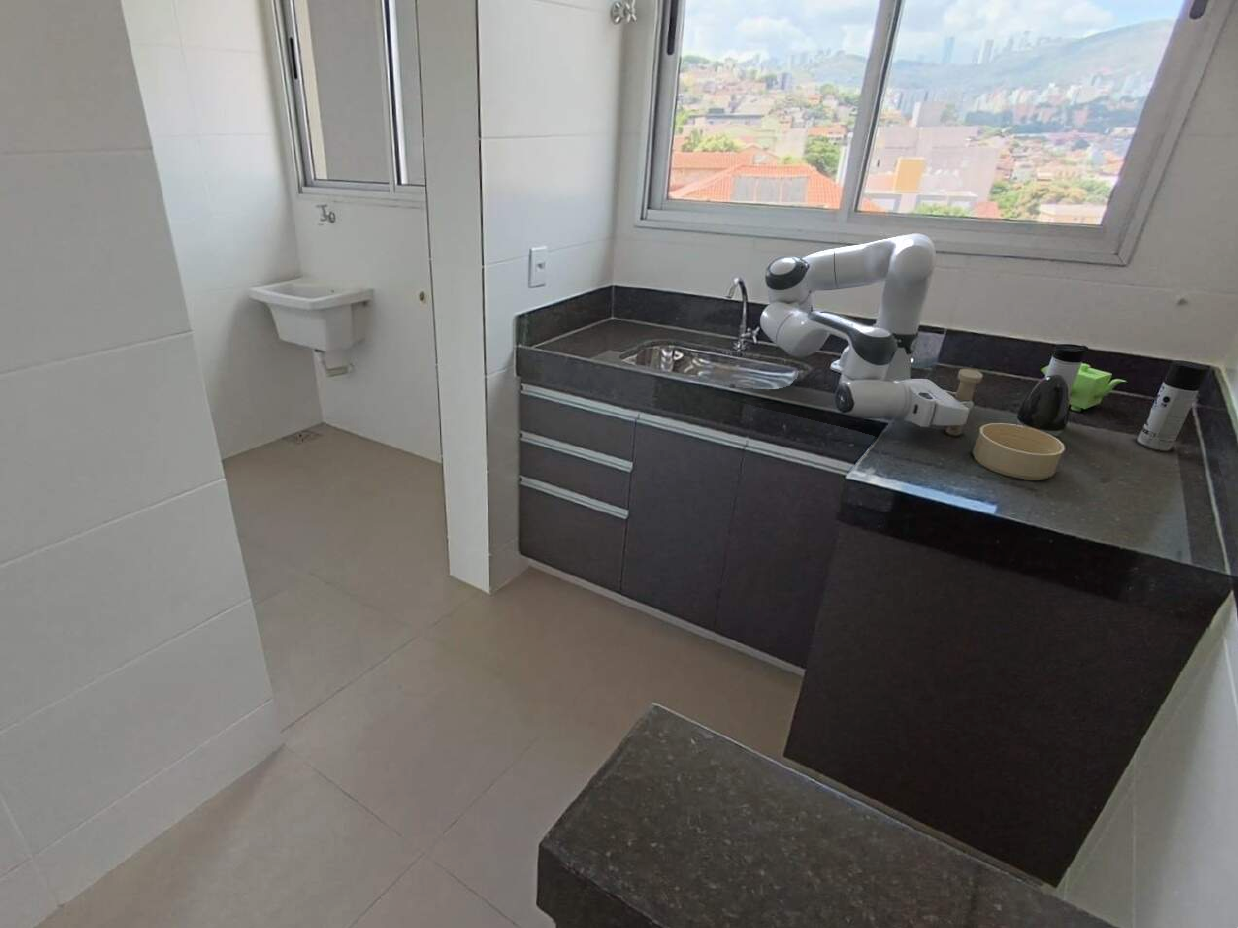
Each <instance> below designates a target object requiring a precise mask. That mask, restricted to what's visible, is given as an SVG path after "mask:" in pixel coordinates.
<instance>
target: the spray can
mask: <svg viewBox="0 0 1238 928" xmlns="http://www.w3.org/2000/svg"><path fill="white" fill-rule="evenodd" d="M1208 372H1209V367H1208V366H1206V365H1205V364H1202V363H1198V362H1194V361H1193V362H1192V361H1189V360H1184V359H1183V360H1182V359H1181V360H1177V359H1176V360H1174V361H1172V363H1171V365H1170V367H1169V369H1168V370H1167V373H1166V375H1165V378H1164V380H1163V381H1162V384H1161V386H1160V388H1159V391H1158V393H1157V395H1156V397H1155V399H1154V401H1153V404H1152V406H1151V408H1150V411H1149V413H1148V415H1147V417H1146V420H1145V421H1144V424H1143V426H1142V428H1141V430H1140V433H1139V435H1138V438H1137V443H1138V444H1139V445H1141V446H1143V447H1144V448H1148V449H1150V450H1154V451H1159V452H1161V451H1162V452H1164V451H1165V452H1166V451H1170V450H1171V449H1172V448H1173V446H1174V445H1175V444H1174V443H1175V442H1176V439H1177V438H1178V435H1179V433H1180V431H1181V429H1182V427H1183V425H1184V422H1185V421H1186V419H1187V416H1188V414H1189V412H1190V410H1191V408H1192V406H1193V404H1194V402H1195V399H1196V397H1197V396H1198V393H1199V391H1200V390H1201V388H1202V385H1203V383H1204V380H1205V378H1206V377H1207V374H1208Z"/></svg>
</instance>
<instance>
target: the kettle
mask: <svg viewBox="0 0 1238 928" xmlns="http://www.w3.org/2000/svg"><path fill="white" fill-rule="evenodd" d="M1048 366H1049V365H1046V366H1044V367H1042V368H1041V369H1040V371H1041V372H1042V373H1043V374H1044V376H1045V375H1046V372H1047V369H1048ZM1112 375H1113V374H1112V373H1110V372H1107V371H1103V370H1100V369H1096V368H1093V367H1091V365H1089V364H1087V363H1083V362H1082V363H1081V366H1080V369H1079V371H1078V374H1077V377H1076V379H1075V382H1074V385H1073V387H1072V390H1071V393H1070V409H1071V410H1072V411H1074V412H1081V411H1082V409H1083V410H1086V409H1089V408H1091V407H1094V406H1097V405H1099V404H1101V403H1102V401H1103V398H1104V397H1106V396H1108V394H1109V393H1110V392H1111V391H1112V390H1113V389H1114V388H1115V387H1116V386H1117V385H1118V384H1120V383H1121V384H1122V383H1127V380H1124V379H1120V378H1116V379H1112V380H1111V378H1112V377H1113V376H1112Z"/></svg>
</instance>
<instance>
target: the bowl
mask: <svg viewBox="0 0 1238 928" xmlns="http://www.w3.org/2000/svg"><path fill="white" fill-rule="evenodd" d="M1065 451H1066V448H1065V444H1064V443H1063V442H1062V441H1061V440H1060V439H1058V438H1056V437H1053V436H1051V435H1049V434H1047V433H1044V432H1042V431H1039V430H1036V429H1033V428H1029V427H1026V426H1021V425H1018V424H1015V423H1008V422H1007V423H1006V422H990V423H986V424H983V425H981V426H980V427H979V429H978V431H977V435H976V438H975V441H974V444H973V447H972V455H973V458H974V459H975V460H976V462H977V463H978V464H980V465H981V466H983V467H985V468H987V469H988V470H990V471H993V472H995V473H997V474H1000V475H1004V476H1007V477H1010V478H1013V479H1014V478H1015V479H1021V480H1027V481H1040V480H1041V481H1042V480H1047V479H1049V478H1052V476H1053V475H1055V474H1056V472H1057V471H1058V469H1059V466H1060V463H1061V461H1062V459H1063V456H1064V453H1065Z"/></svg>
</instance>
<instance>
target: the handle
mask: <svg viewBox="0 0 1238 928" xmlns="http://www.w3.org/2000/svg"><path fill="white" fill-rule="evenodd" d="M983 376H984V375H983V373H981V372H980V371H978V370H976V369H970V368H961V369H959V370H958V373H957V379H958V380H959V385H958V388H957V390H956V392H957V393H956V396H955V399H956V400H957V401H960V402H963V401H964V400H970V401H972V402H973V396H974V393H975V388H976V385H978V384H980V383H981V382H982V380H983ZM965 425H966V423H965V424H963V425H954V426H945V427H946V428H945V432H946V433H947V434H948V435H949V436H954V437H957V436H960V435H962V432H963V428H964V427H965Z"/></svg>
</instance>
